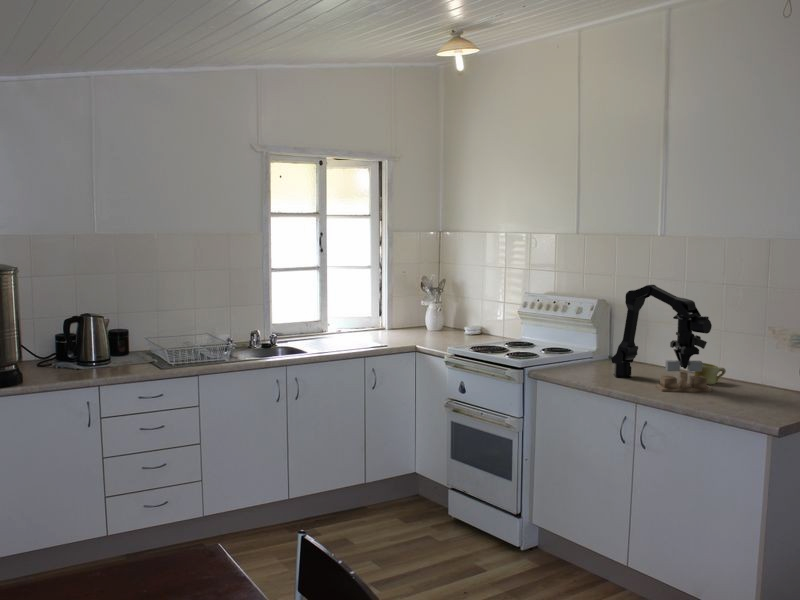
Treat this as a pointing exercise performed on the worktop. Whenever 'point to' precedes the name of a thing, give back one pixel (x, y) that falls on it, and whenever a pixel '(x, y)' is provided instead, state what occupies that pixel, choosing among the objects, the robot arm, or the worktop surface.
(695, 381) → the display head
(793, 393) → the worktop surface
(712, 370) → the mug
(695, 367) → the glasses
